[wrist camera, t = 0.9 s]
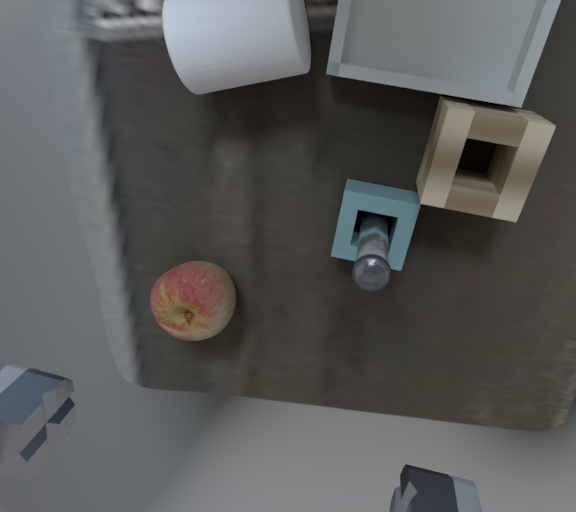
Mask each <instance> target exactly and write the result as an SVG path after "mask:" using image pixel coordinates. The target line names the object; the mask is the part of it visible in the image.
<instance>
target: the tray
mask: <svg viewBox="0 0 576 512" xmlns="http://www.w3.org/2000/svg"><path fill="white" fill-rule="evenodd" d="M560 2H561V0H338V5H337V11H336V17H335V23H334V29H333V35H332V41H331V47H330V53H329V59H328V65H327V71H326V74H328V75H334V76H339V77H345V78H351V79H357V80H363V81H369V82H374V83H380V84H386V85H392V86H398V87H404V88H409V89H415V90H421V91H427V92H433V93H439V94H444V95H450V96H456V97H462V98H468V99H474V100H479V101H485V102H491V103H497V104H503V105H509V106H514V107H520V108H521V107H522V104H523V101H524V99H525V96H526V93H527V91H528V88H529V85H530V83H531V80H532V77H533V74H534V72H535V69H536V66H537V64H538V61H539V58H540V56H541V53H542V50H543V47H544V45H545V42H546V39H547V37H548V34H549V31H550V29H551V26H552V23H553V20H554V18H555V15H556V12H557V10H558V7H559V4H560Z"/></svg>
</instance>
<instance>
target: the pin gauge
mask: <svg viewBox="0 0 576 512" xmlns="http://www.w3.org/2000/svg"><path fill="white" fill-rule="evenodd" d="M352 278H353V281H354V283H355V284H356V286H357V287H359V288H360V289H362V290H364V291H368V292H376V291H379V290H382V289H383V288H385V287H386V286H387V285H388V283H389V281H390V278H391V269H390V265H389V263H388V217H387V215H383V214H378V213H373V212H368V211H363V213H362V217H361V225H360V234H359V242H358V250H357V258H356V262H355V263H354V265H353V271H352Z"/></svg>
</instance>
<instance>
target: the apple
mask: <svg viewBox="0 0 576 512" xmlns="http://www.w3.org/2000/svg"><path fill="white" fill-rule="evenodd" d="M235 304H236V291H235V287H234V284H233V281H232V279H231V277H230V276H229V274H228V273H227V272H226V271H225V270H224V269H223V268H221V267H220V266H218V265H216V264H214V263H211V262H206V261H190V262H186V263H183V264H181V265H178V266H176V267H174V268H172V269H170V270H169V271H167V272H166V273H164V274H163V275H162V276H161V277H160V278H159V279H158V280H157V281H156V283H155V284H154V286H153V289H152V292H151V296H150V305H151V309H152V312H153V315H154V317H155V319H156V321H157V322H158V324H159V325H160V326H161V327H162V328H163V329H164V330H165V331H166V332H167V333H169V334H170V335H172V336H173V337H175V338H178V339H182V340H187V341H199V340H203V339H207V338H210V337H213V336H215V335H216V334H218V333H219V332H221V331H222V330H223V329H224V328H225V326H226V325H227V324H228V322H229V321H230V319H231V317H232V315H233V312H234V309H235Z"/></svg>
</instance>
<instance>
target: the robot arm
mask: <svg viewBox="0 0 576 512" xmlns="http://www.w3.org/2000/svg"><path fill="white" fill-rule="evenodd" d="M73 392H74V386H73V381H72V380H70V379H68V378H64V377H61V376H57V375H54V374H50V373H47V372H44V371H40V370H37V369H33V368H29V367H25V366H22V365H18V364H14V363H13V364H11V365H8V366H6V367H5V368H3V369H2V370H1V371H0V475H3V476H8V477H12V478H15V479H20V480H24V481H27V482H31V480H32V479H33V478H34V477H35V475H36V474H37V472H38V471H39V470H40V469H41V468H42V467H43V465H44V464H45V463H46V462H47V460H48V459H49V449H50V448H52V447H54V446H56V445H58V444H60V443H62V441H63V440H64V439H65V437H66V436H67V435H68V433H69V431H70V429H71V427H72V425H73V422H74V419H75V413H76V410H75V404H74V402H73V401H72V400H71V398H70V397H69V396H70V395H71V394H72V393H73ZM400 482H401V483H400V484H401V486H399V487H397V488H396V489H395V490H394V493H393V497H392V500H391V505H390V511H389V512H482V510H481V505H480V501H479V496H478V492H477V487H476V485H475V483H474V482H473V481H471V480H467V479H462V478H459V477H454V476H449V475H447V474H443V473H439V472H435V471H431V470H427V469H423V468H418V467H414V466H410V465H405V466H404V468H403V470H402V472H401V475H400Z"/></svg>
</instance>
